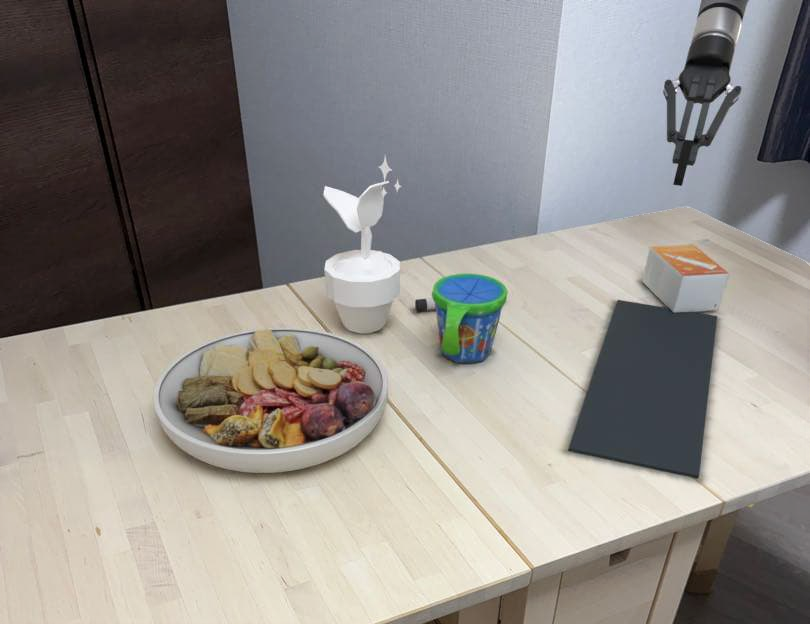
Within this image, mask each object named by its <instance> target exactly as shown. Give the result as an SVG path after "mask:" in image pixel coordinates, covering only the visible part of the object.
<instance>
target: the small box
mask: <svg viewBox="0 0 810 624" xmlns="http://www.w3.org/2000/svg"><path fill="white" fill-rule="evenodd" d="M729 276H730V272H728V271H727V270H725V269H724V268H723V267H722V266H721V265H719V263H717V262H716V261H715V260H713V259H712V258H711V257H710V256H708V255H707V254H706V253H705V252H704V251H702V249H700V248H699V247H697V245H695V244H694V243H690V244H677V245H676V244H675V245H661V246H660V245H658V246H649V247H648V253H647V258H646V262H645V266H644V271H643V275H642V280H641V281H642V283H643V284H644V285H645V286H646V287H647V288H648V289H649V291H651V292H652V293H653V294H654V295H655V296H656V297H657V298H658V299H659V300H660V301H661V302H662V303H663V304H664V305H665V306H666V308H669V309H670V310H671V311H672V312H673V313H681V312H696V313H701V312H707V311H719V309H720V305H721V302H722V299H723V295H724V292H725V289H726V286H727V282H728V278H729Z"/></svg>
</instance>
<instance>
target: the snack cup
mask: <svg viewBox="0 0 810 624" xmlns="http://www.w3.org/2000/svg"><path fill="white" fill-rule="evenodd" d="M508 294H509V293H508V289H507V287H506V285H505V284H504V283H503V282H502V281H500V280H499V279H497V278H494V277H491V276H489V275H484V274H479V273H454V274H450V275H447V276H444V277H442V278H441V277H440V278H439V279H438V280H437V281H436V282H435V283H434V284H433V288H432V292H431V298H433V300H434V302H435V305H436V310H435V312H436V321H437V330H438V339H439V348H440V352H441V354H442V355H444V356H445V357H446V358H447V359H449V360H451V361H454V362H455V363H457V364H460V363H466V364H471V363H477V362H482V361H484V360H485V359H486V358H487V357H488V356H489V355H490V354H491V351H492V348H493V344H494V341H495V339H496V334H497V330H498V326H499V323H500V318H501V313H502V309H503V308H504V306H505V304H506V302H507V298H508Z"/></svg>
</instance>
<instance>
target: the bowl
mask: <svg viewBox="0 0 810 624" xmlns="http://www.w3.org/2000/svg"><path fill="white" fill-rule="evenodd" d="M388 396H389V378H388V374H387V372H386V369H385V366H384V365H383V363H382V361H380V359H379V358H378V357H377V356H376V355H375V354H374V353H372V351H370V350H369V349H368V348H367V347H365V346H363V345H362V344H359V343H358V342H356V341H354V340H352V339H350V338H347V337H345V336H342V335H338V334H336V333H332V332H328V331H323V330H318V329H313V328H304V327H285V326H284V327H283V326H281V327H280V326H279V327H263V328H255V329H250V330H242V331H238V332H233V333H229V334H225V335H222V336H219V337H216V338H213V339H210V340H208V341H205V342H202V343H201V344H199V345H195V346H194V347H192V348H190V349H189V350H187V351H186V352H184V353H182V354H181V355H179V356H177V358H175V359H174V360H173V361H172V362H171V363H170V364H169V365H168V366H167V367H166V368H165V369H164V370H163V372H162V373H161V374H160V375H159V377H158V378H157V380H156V383H155V386H154V389H153V394H152V403H153V407H154V408H153V409H154V411H155V415H156V418H157V420H158V423H159V425H160V427H161V429H162V430H163V431H164V433H165V434H166V435H167V437H168V438H169V439H170V441H172V443H174V444H175V445H176V446H177V447H178V448H179V449H181V451H183V452H185V453H186V454H188V455H190V456H191V457H193V458H195V459H197V460H199V461H201V462H203V463H205V464H209V465H211V466H214V467H217V468H221V469H224V470H225V469H226V470H231V471H235V472H241V473H242V472H243V473H254V474H255V473H256V474H268V473H269V474H275V473H285V472H291V471H297V470H302V469H307V468H311V467H314V466H317V465H321V464H324V463H326V462H329V461H331V460H333V459H336V458H337V457H340V456H342V455H344V454H345V453H347V452H349V451H350V450H352V449H353V448H354V447H356V446H357V445H359V444H360V443H361V442H363V440H365V438H367V437H368V436H369V435H370V434H371V433H372V431H374V429H375V428H376V426H377V425H378V423H379V422H380V420H381V418H382V416H383V414H384V412H385V409H386V407H387V403H388Z"/></svg>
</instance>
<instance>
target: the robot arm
mask: <svg viewBox="0 0 810 624" xmlns="http://www.w3.org/2000/svg"><path fill="white" fill-rule="evenodd" d="M749 1H750V0H701V1H700V4H699V8H698V12H697V16H696V21H695V24H694V27H693V32H692V36H691V39H690V46H689V48H688V51H687V56H686V59H685V63H684V67H683V70H681V72H680V74H679V75H678V78H676V79H673V80H671V79H665V81H664V85H663V91H662V94H663V96H664V99H665V101H666V142H668V143H673V144H674V145H675V147H674V152H673V155H672V160H671V161H672V164H675V165H677V167H676V171H675V175H674V180H673V184H672V185H673V186H679V187H682V186H683V183H684V179H685V175H686V171H687V167H688V166H690V167H691V166H692V167H693V166H694V165H695V164H696V161H697V157H698V153H699V149H701V148H702V147H706V148H707V147H710V146H711V144H712V142H713V141H714V139H715V137H716V135H717V133H718V131H719V129H720V127H721V126H722V123H723V122H724V120H725V118H726V116H727V114H728V112H729V110H730V108H731V107H732V106H733V105H735V104H736V103H737V102H738V101H739V100H740V95H741V93H742V86H741V85H736V86H735V85H734V84H732V83H731V82H732V81H731V79H732V78H731V75H730V73H731V69H732V64H733V61H734V56H735V51H736V48H737V44H738V40H739V37H740V32H741V28H742V24H743V20H744V16H745V13H746V9H747V5H748V4H749ZM679 89H680V92H681V93H682V95H683V98H684V99H685V100H686V103H685V108H684V112H683V116H682V120H681V123H680V127H679V131H677V102H676V101H677V94H678V90H679ZM723 93H724V96H723V101H722V103H721V105H720V107H719V109H718V110H717V112H716V114H715V116H714V118H713V120H712V122H711V124H710V125H709V128H708V130H707V132H706V133H705V134H703V133H704V128H705V125H706V121H707V117H708V114H709V109H710V106H711V105H710V104H711V103H713V102H714V101H715V100H716V99H717V98H719V97H720V96H721V95H722V94H723ZM695 104H701V108H700V112H699V115H698V120H697V124H696V126H695V132H694V135H693V139H686V137H687V133H688V130H689V125H690V121H691V118H692V113H693V109H694V105H695Z"/></svg>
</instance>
